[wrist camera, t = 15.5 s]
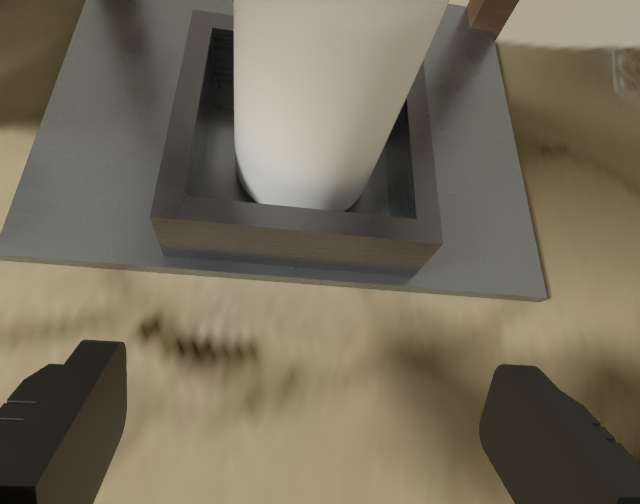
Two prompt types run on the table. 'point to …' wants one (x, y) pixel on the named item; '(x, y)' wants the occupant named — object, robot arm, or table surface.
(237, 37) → the can
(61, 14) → the table surface
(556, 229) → the table surface
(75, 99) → the socket
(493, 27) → the wooden arch stand
